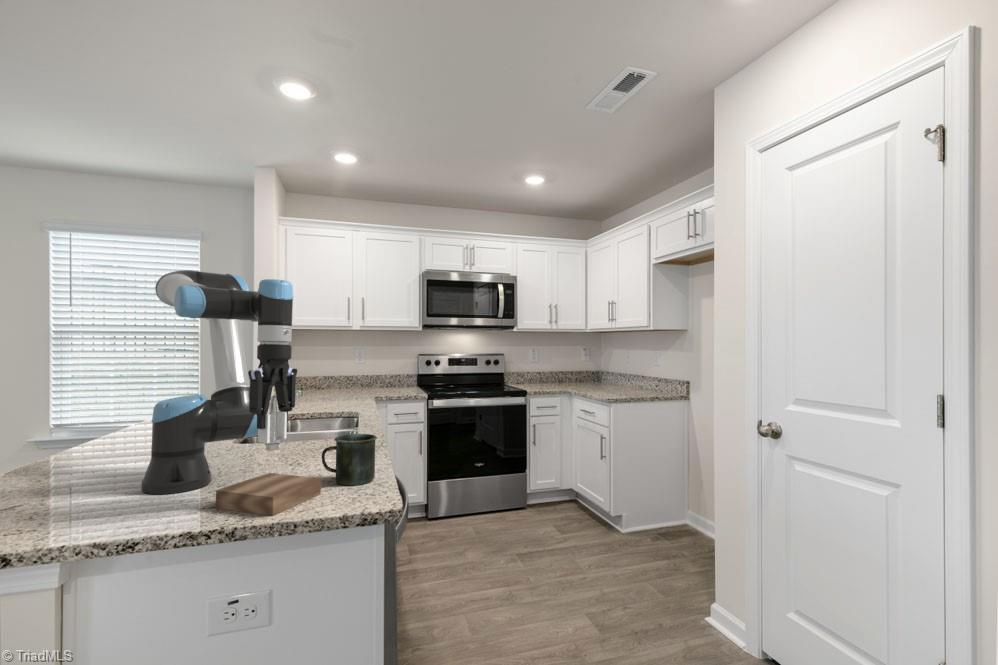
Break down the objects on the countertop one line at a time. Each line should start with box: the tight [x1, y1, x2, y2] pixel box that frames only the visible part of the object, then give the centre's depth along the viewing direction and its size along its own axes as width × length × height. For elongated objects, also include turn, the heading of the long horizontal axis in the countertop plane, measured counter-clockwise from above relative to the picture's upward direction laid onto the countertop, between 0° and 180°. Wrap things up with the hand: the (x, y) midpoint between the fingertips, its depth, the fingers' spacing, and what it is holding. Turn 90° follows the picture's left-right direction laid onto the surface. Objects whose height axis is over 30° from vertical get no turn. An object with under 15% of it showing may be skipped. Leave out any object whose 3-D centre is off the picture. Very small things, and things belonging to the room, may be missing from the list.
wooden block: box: [215, 472, 322, 517], centre depth 112 cm, size 16×16×4 cm
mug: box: [321, 433, 378, 486], centre depth 129 cm, size 11×15×12 cm
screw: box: [262, 394, 285, 452], centre depth 112 cm, size 13×5×5 cm
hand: (272, 440), depth 112 cm, fingers closed on screw, 5 cm apart
